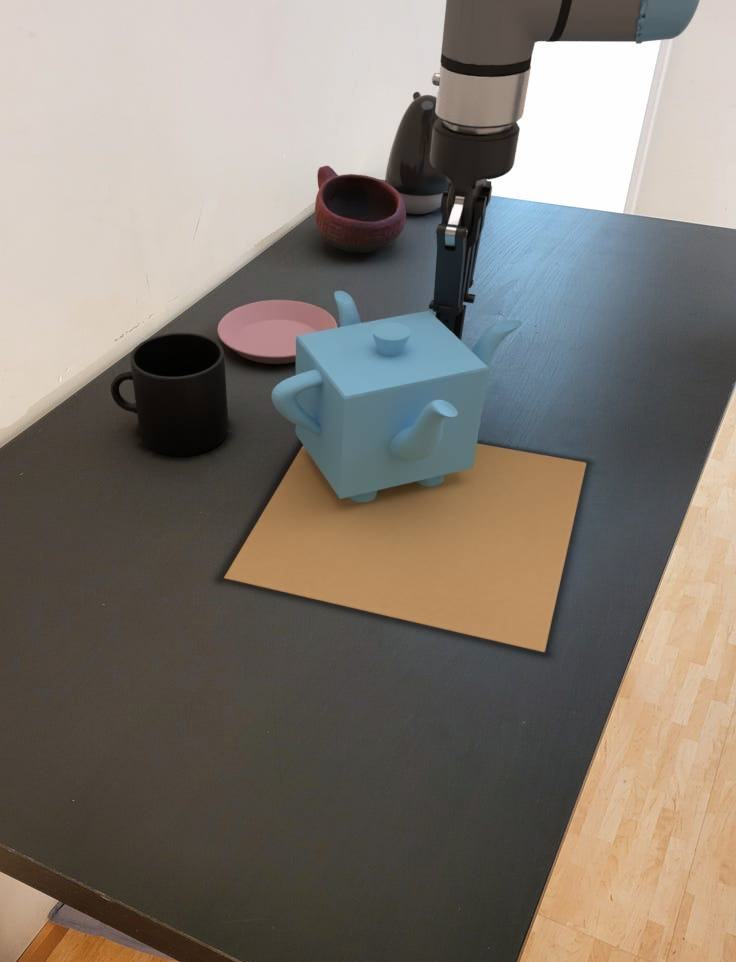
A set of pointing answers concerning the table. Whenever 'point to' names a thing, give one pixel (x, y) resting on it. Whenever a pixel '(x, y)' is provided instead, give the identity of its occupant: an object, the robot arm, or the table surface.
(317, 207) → the bowl
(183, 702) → the table surface
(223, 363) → the mug
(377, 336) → the teakettle
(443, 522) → the trivet mat
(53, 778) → the table surface
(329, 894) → the table surface
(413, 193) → the dark brown tall dome
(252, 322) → the plate
